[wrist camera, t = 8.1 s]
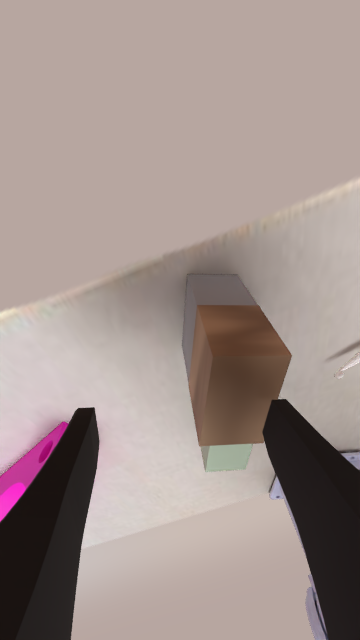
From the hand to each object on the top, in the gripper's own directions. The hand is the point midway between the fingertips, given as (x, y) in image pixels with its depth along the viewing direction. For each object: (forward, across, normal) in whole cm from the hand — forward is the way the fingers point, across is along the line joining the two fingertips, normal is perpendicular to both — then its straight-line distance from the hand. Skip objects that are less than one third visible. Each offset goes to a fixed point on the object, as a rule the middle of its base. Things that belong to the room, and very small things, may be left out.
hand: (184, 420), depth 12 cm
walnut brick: (+6, -3, +1) cm, 7 cm away
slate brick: (+10, -3, +1) cm, 11 cm away
